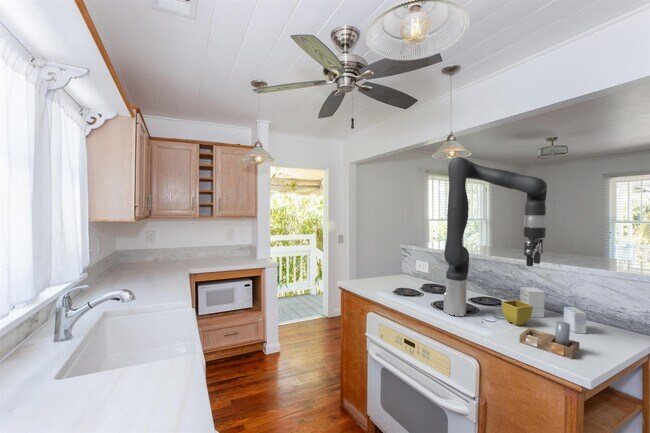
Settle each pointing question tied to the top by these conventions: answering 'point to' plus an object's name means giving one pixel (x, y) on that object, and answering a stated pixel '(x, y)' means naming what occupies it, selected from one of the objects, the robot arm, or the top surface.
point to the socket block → (548, 343)
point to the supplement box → (533, 299)
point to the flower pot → (517, 312)
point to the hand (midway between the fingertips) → (533, 264)
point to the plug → (562, 333)
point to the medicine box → (575, 319)
